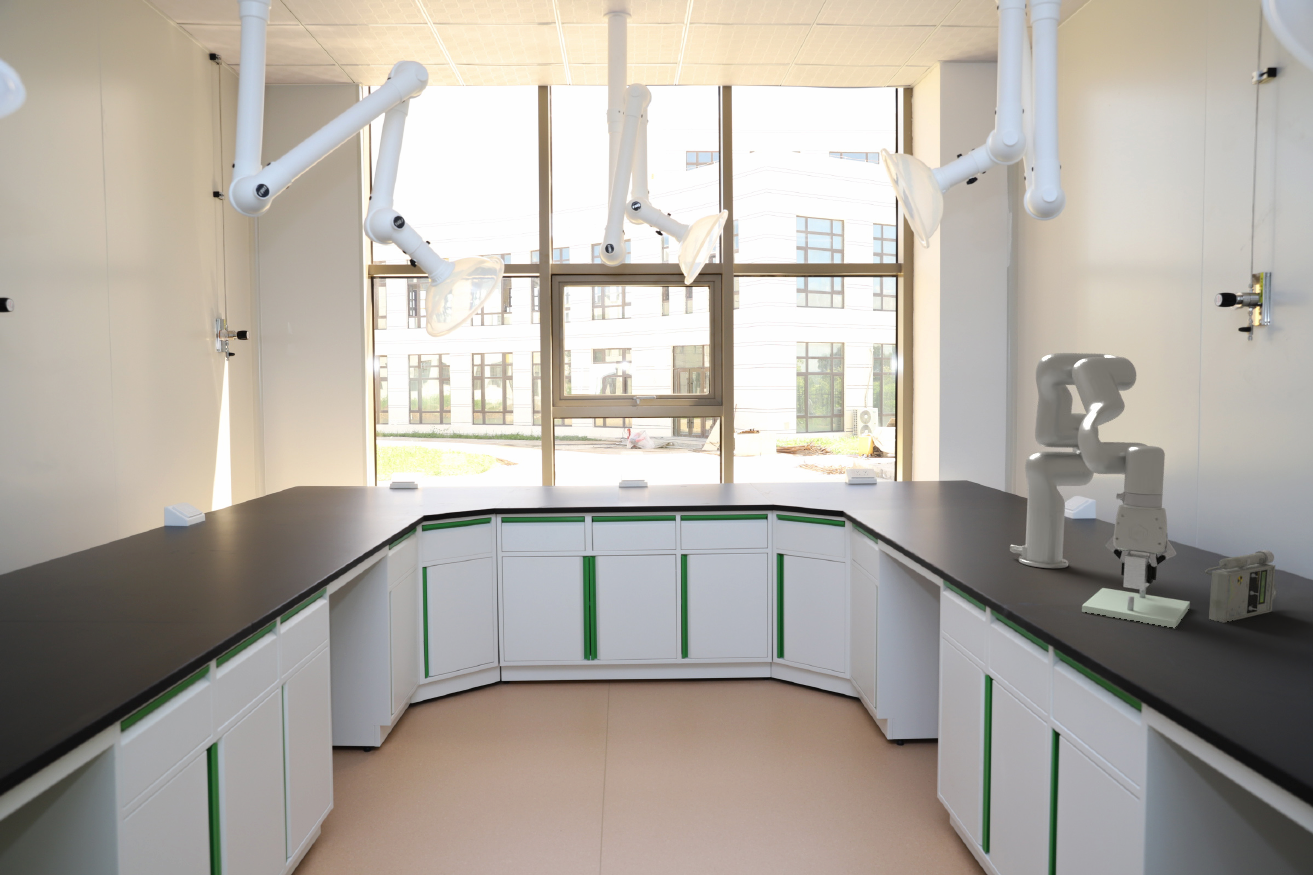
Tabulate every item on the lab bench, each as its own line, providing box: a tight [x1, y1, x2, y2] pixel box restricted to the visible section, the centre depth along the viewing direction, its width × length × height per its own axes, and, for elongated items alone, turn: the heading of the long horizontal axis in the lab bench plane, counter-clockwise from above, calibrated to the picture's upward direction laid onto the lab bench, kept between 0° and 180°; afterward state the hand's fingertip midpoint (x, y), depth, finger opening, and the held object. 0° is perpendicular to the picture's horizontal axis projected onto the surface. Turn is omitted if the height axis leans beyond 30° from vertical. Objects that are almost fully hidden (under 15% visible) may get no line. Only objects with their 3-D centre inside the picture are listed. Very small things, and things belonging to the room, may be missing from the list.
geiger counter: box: [1204, 549, 1278, 624], centre depth 186 cm, size 14×6×25 cm
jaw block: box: [1122, 551, 1150, 591], centre depth 187 cm, size 4×10×7 cm, turn 140°
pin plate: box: [1081, 587, 1191, 629], centre depth 188 cm, size 18×20×4 cm
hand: (1138, 580), depth 187 cm, fingers closed on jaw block, 4 cm apart
